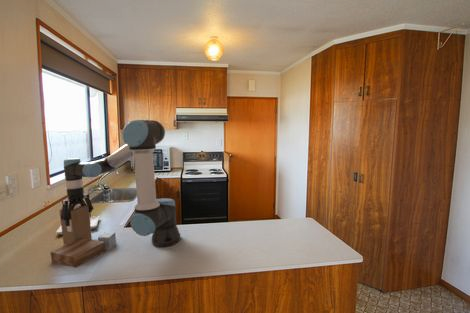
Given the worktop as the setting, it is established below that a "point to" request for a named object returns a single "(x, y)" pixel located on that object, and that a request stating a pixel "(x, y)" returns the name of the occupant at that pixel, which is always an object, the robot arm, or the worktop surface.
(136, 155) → the robot arm
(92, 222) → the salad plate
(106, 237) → the slate cube
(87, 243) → the plinth
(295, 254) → the worktop surface
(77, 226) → the block
